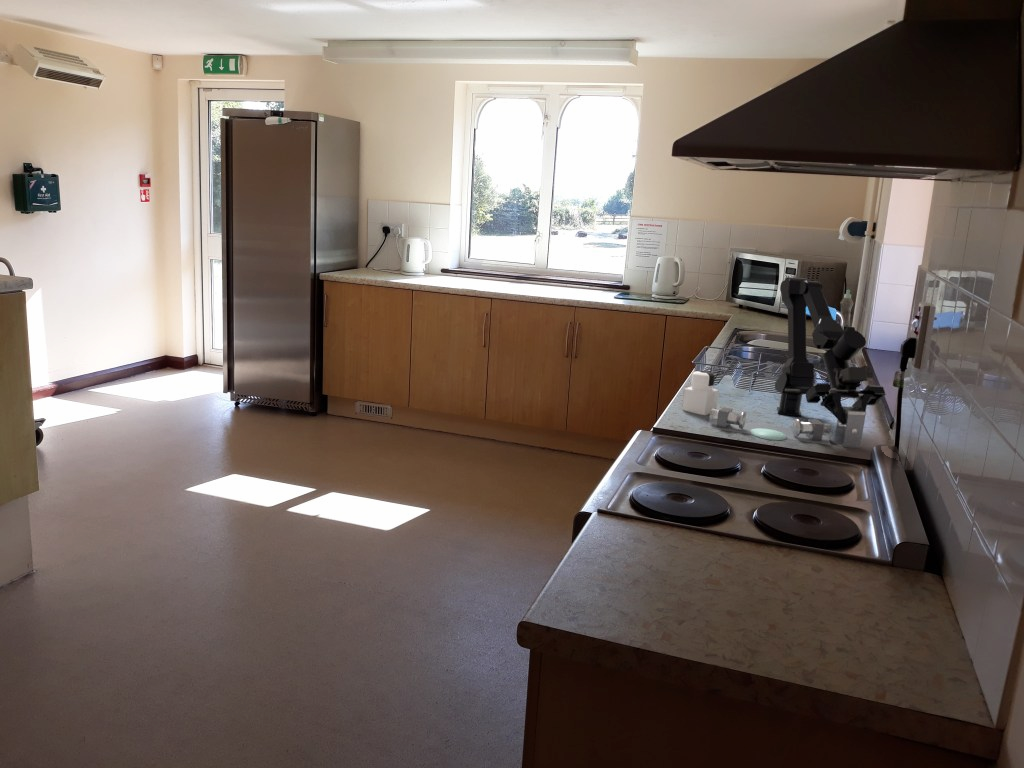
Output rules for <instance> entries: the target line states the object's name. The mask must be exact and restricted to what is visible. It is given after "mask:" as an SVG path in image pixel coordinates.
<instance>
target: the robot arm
mask: <svg viewBox="0 0 1024 768" xmlns="http://www.w3.org/2000/svg"><path fill="white" fill-rule="evenodd" d="M779 289H780V296H781V301H782V302H783V304H784V305H785V306H786V309H787V337H788V338H787V340H788V341H787V346H788V347H787V348H788V349H787V356H788V358H787V360H786V362H785V363H784V365H783V367H782V370H781V371H782V372H781V374H780V376H779V377H778V378H777V379H776V381H775V382H774V391H777V392H778V393H780V399H779V404H778V405H779V406H777V407H776V411H777V414H779V415H787V416H791V417H792V416H793V417H802V412H801V405H802V398H803V395H805V400H806V402H807V403H808V404H819V402H820V401H821V399H822V401H821V402H820V404H819V405H820V406H821V407H824V408H825V409H826V410H828V411H829V412H830V413H831V414H832V415H833V416H834V417H835V418H836V419H837V420H839V421H840V422H841V423H842V424H845V423H846V419H845V415H844V411H843V408H842V406H843V404H842V402H841V401H842V398H844V399H853V401H854V403H853V404H852V405H851V407H858V408H860V409H862V410H864V411H866V412H867V407H868V406H875V405H877V403H878V402H880V401H881V400H882V399H883V398H884V397H885V396H886V394H887V393H886V390H885V388H884V386H881V385H866V387H865V388H864V389H861V390H860V389H857V388H859V387H860V386H861V385H862V382H867V381H868V380H870V379H873V378H874V370H873V368H872V366H871V365H865V364H864V366H861V367H859V366H850V363H849V361H852V360H853V359H854V358H855V357H856V356H857V355H858V354H859V353H860V351H861V350H863V348H864V347H865V346H866V344H867V340H866V337H864V335H863V334H862V333H861V332H859V331H857V330H856V329H855V327H854V326H846V327H845V328H844V327H842V325H841V323H839V322H838V321H836V319H835V320H834V318H833V316H832V312H831V311H830V307H829V305H828V303H827V300H826V296H825V295H824V293H823V284H822V283H821V282H819V281H815V280H810V279H809V278H805V277H804V278H803V277H792V276H791V277H788V276H787V277H786V278H785V279H784V280H782V281H781V283H780V286H779ZM807 310H808V311H809V315H810V317H811V321H812V323H813V327H814V329H813V331H812V333H811V335H812V343H813V344H814V347H815V348H816V349H817V350H821V351H822V350H825V352H824V353H823V354H822V356H821V358H820V359H819V365H824V367H825V371H826V374H827V376H826V377H825V381H826V382H825V383H824V382H822V383H821V382H815V373H814V371H815V369H814V368H815V365H814V363H813V362H810V361H809V360H808V357H807Z"/></svg>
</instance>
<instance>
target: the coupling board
mask: <svg viewBox="0 0 1024 768" xmlns="http://www.w3.org/2000/svg"><path fill="white" fill-rule="evenodd" d="M707 425H708V426H707V428H708V429H710V430H711V429H712V430H718V431H725V432H726V431H727V432H732V433H733V432H735V433H739V434H740V433H741V434H748V435H752V436H754V437H756V438H760V439H764V440H770V441H783V440H791V441H798V442H805V443H812V444H813V443H814V444H819V445H828V446H831V445H832V444H831V442H830V440H829V436H825V435H822V441H812V440H811V439H809V438H808V437H807V436H806V434H799V436H794V435H793V432H792V428H790V427H782V426H777V425H776V426H775V425H768V424H762V423H753V422H745V425H744V428H743V429H740V428H739V425H734V424H730V426H728V427H727V428H726V429H724V428H719V427H716V426H717V421H714V420H710V417H708V424H707Z"/></svg>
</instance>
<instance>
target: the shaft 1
mask: <svg viewBox="0 0 1024 768" xmlns="http://www.w3.org/2000/svg"><path fill="white" fill-rule="evenodd" d="M709 418H710V420H714V421H717V426H716V427H719V428H724V429H726V428H727V427H728V426H730V424H734V425H739V428H740V429H743V428H744V425H745V422H746V421H747V412H745V411H742V412H741V413H738V412H737V413H736V412H733V408H730V407H725V406H723V407H721V408H720V409H717V408H716V409H712V410H711V412H710V414H709ZM746 423H747V422H746Z"/></svg>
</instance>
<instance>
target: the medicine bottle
mask: <svg viewBox="0 0 1024 768" xmlns="http://www.w3.org/2000/svg"><path fill="white" fill-rule="evenodd" d="M715 377H716V376H715V374H714V373H713V372H710V371H708V370H695V371H693V372H692V376H691V383H690V386H688V387H685V388H684V389H683V396H682V397H683V398H682V404H681V405H682V406H681V410H682V411H686V412H689V413H693V414H698V415H702V416H706V415H707V416H708V415H710V412H711V410H712V409H717V406H718V399H719V390H718V389H715V388H714V383H715Z"/></svg>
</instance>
